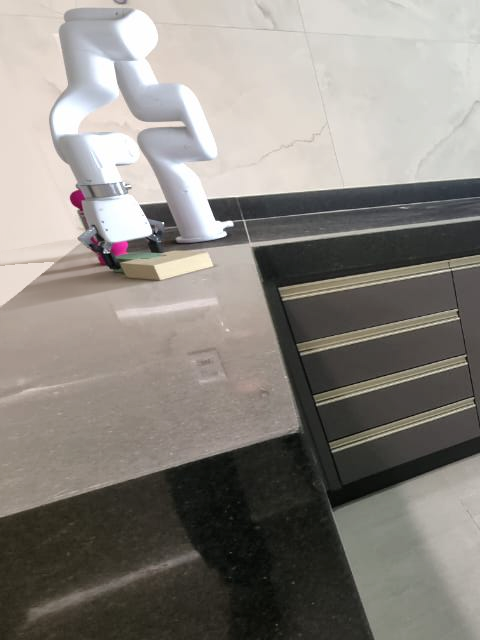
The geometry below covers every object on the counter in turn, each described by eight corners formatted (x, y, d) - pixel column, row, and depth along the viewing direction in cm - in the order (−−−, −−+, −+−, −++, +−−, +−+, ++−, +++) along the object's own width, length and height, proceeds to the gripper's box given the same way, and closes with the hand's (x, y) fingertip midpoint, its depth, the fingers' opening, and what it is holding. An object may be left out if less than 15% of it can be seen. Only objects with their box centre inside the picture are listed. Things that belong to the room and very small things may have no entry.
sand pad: (180, 263, 134) (175, 250, 133) (213, 266, 130) (207, 252, 129) (126, 277, 124) (119, 262, 122) (160, 280, 120) (153, 265, 119)
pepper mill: (112, 265, 135) (73, 184, 127) (91, 265, 137) (50, 185, 128) (141, 258, 142) (106, 180, 133) (120, 258, 143) (84, 181, 134)
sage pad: (141, 265, 135) (135, 251, 133) (175, 267, 131) (169, 253, 129) (113, 271, 130) (107, 257, 128) (148, 274, 125) (141, 260, 124)
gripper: (136, 186, 131) (166, 254, 139) (48, 197, 117) (86, 272, 124) (156, 186, 129) (185, 255, 136) (68, 197, 114) (106, 274, 122)
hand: (138, 263), depth 130 cm, fingers open, 9 cm apart
